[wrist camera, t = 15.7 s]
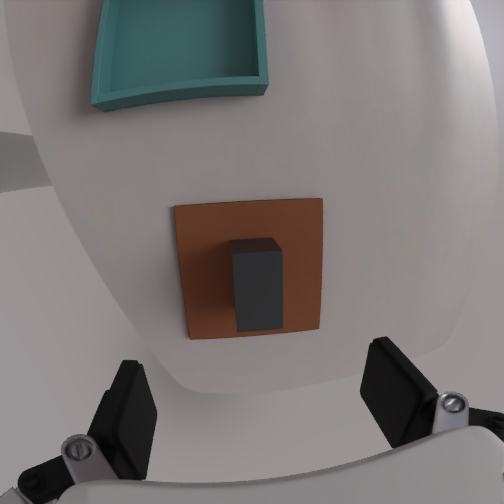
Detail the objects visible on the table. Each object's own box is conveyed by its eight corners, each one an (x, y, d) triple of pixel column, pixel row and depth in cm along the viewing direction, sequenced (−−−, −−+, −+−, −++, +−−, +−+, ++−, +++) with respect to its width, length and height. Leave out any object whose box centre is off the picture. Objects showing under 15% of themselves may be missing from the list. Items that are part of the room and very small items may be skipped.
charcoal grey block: (234, 307, 29) (237, 332, 24) (230, 239, 27) (231, 253, 22) (274, 304, 29) (283, 328, 25) (272, 237, 28) (282, 250, 23)
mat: (190, 337, 30) (190, 339, 30) (174, 205, 26) (173, 206, 26) (318, 326, 31) (319, 329, 31) (321, 198, 28) (322, 198, 27)
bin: (104, 112, 23) (90, 105, 20) (119, -16, 19) (110, -31, 15) (263, 95, 24) (269, 84, 21) (254, -32, 20) (258, -50, 17)
